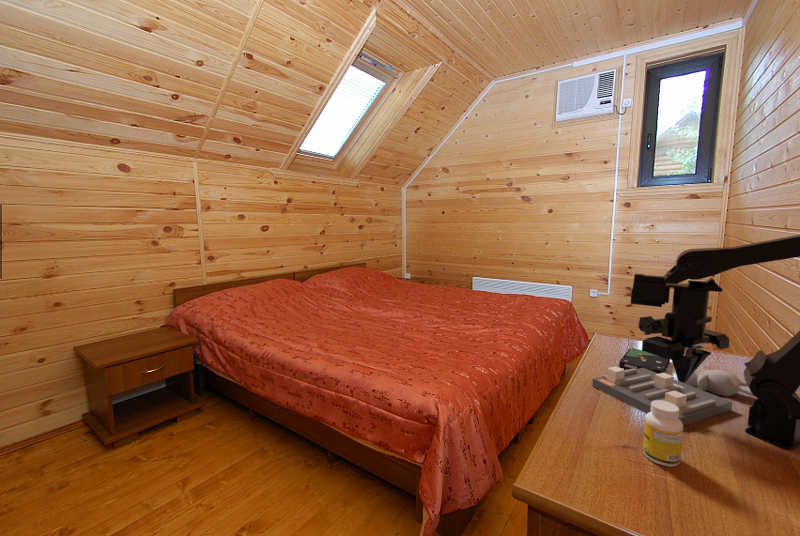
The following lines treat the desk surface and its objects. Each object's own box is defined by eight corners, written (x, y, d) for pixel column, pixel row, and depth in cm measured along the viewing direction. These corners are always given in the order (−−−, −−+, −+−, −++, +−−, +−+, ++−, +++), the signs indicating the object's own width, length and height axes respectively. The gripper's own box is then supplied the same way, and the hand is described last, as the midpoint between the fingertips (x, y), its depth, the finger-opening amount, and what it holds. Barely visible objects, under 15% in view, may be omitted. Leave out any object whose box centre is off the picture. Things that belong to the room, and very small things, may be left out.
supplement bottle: (644, 444, 68) (648, 395, 67) (680, 456, 65) (685, 404, 63) (640, 459, 64) (644, 406, 63) (679, 472, 61) (684, 417, 59)
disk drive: (663, 381, 96) (669, 363, 107) (664, 370, 95) (670, 354, 106) (618, 370, 103) (628, 354, 113) (618, 361, 102) (629, 346, 113)
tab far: (623, 381, 89) (624, 369, 89) (615, 383, 88) (615, 371, 88) (615, 377, 92) (615, 366, 91) (606, 379, 91) (607, 368, 90)
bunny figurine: (685, 361, 97) (765, 373, 85) (686, 380, 97) (766, 394, 85) (675, 371, 91) (759, 385, 79) (676, 391, 91) (760, 408, 79)
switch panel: (731, 410, 79) (732, 398, 79) (676, 428, 73) (677, 415, 73) (642, 374, 98) (643, 364, 98) (592, 386, 92) (593, 375, 91)
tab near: (685, 408, 76) (686, 395, 76) (675, 411, 75) (677, 397, 75) (673, 403, 79) (674, 390, 78) (664, 406, 78) (665, 392, 77)
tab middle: (672, 388, 85) (674, 376, 85) (664, 390, 84) (665, 378, 84) (662, 384, 88) (663, 372, 87) (654, 386, 87) (654, 374, 86)
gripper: (677, 298, 86) (671, 361, 88) (620, 305, 79) (615, 373, 81) (734, 309, 76) (726, 380, 78) (674, 318, 69) (667, 396, 71)
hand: (682, 381), depth 77 cm, fingers closed
